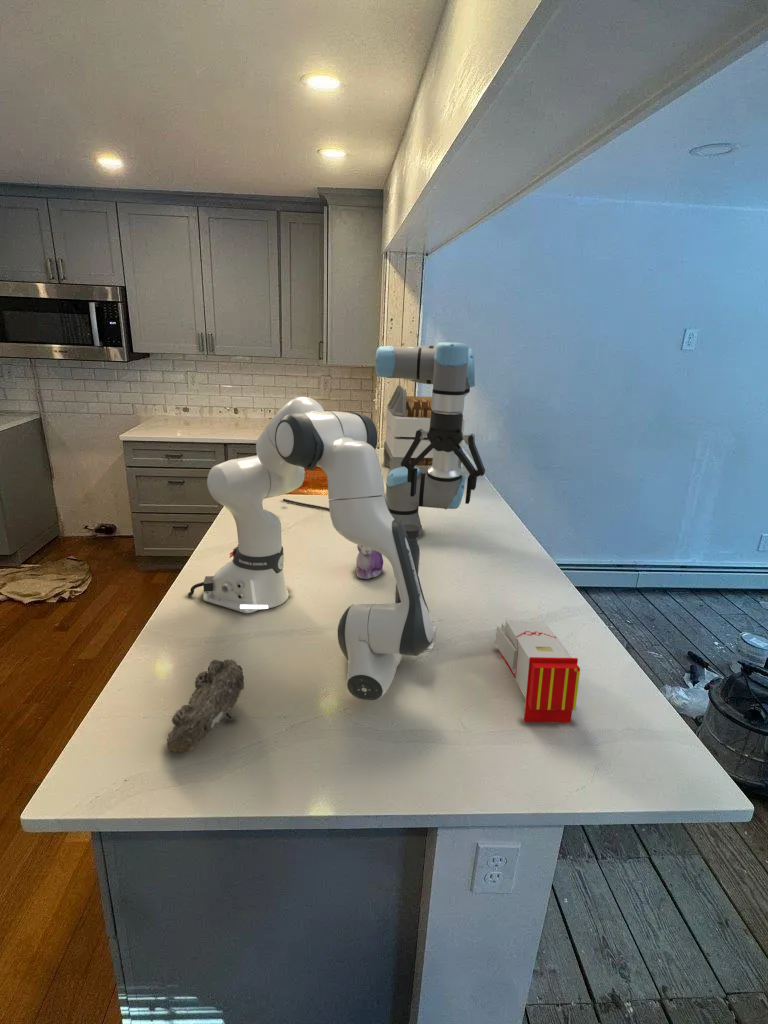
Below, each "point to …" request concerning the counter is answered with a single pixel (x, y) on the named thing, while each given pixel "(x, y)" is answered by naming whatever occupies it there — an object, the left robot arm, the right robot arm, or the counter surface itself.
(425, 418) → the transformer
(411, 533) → the cap
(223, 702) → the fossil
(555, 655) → the toy
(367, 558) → the figurine
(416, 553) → the bottle
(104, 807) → the counter surface
